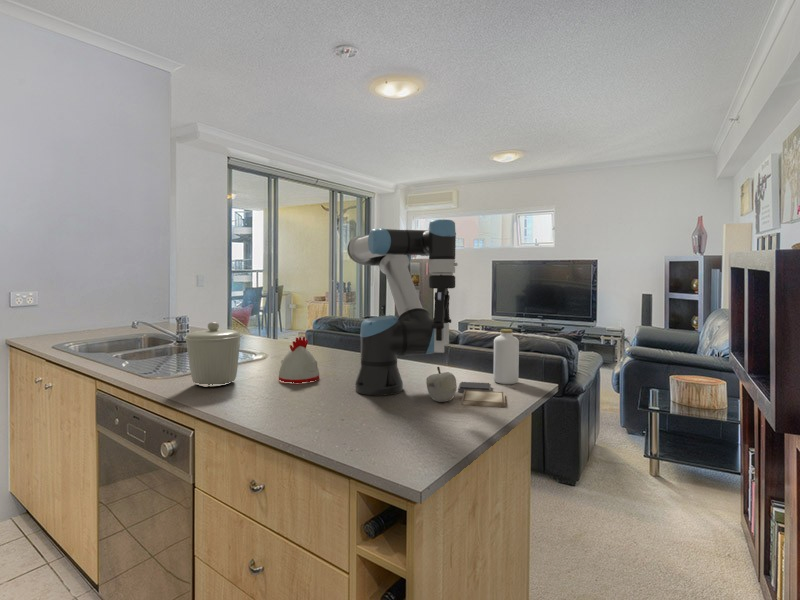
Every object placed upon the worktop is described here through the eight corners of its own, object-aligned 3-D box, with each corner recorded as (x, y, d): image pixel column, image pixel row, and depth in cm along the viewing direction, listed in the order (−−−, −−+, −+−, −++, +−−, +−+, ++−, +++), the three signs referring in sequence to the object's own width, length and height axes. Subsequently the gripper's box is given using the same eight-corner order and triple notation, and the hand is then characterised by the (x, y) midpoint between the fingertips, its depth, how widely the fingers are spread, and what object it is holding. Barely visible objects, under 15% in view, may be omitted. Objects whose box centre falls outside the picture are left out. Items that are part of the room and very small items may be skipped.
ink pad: (458, 392, 140) (458, 387, 140) (459, 385, 148) (459, 381, 148) (490, 393, 138) (490, 389, 138) (490, 387, 146) (490, 382, 146)
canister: (249, 386, 148) (248, 322, 147) (190, 394, 138) (188, 326, 137) (235, 375, 163) (234, 318, 162) (181, 382, 153) (179, 321, 152)
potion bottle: (519, 385, 148) (519, 331, 147) (493, 384, 150) (494, 331, 149) (517, 379, 156) (518, 328, 155) (493, 378, 158) (493, 328, 157)
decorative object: (452, 407, 125) (452, 371, 124) (422, 404, 128) (422, 369, 127) (459, 398, 133) (459, 365, 132) (431, 396, 136) (431, 363, 136)
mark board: (461, 404, 127) (461, 400, 127) (464, 393, 139) (464, 389, 139) (505, 406, 125) (505, 403, 125) (504, 395, 137) (504, 391, 137)
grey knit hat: (327, 378, 160) (326, 336, 159) (299, 386, 148) (298, 341, 147) (299, 373, 167) (298, 333, 166) (270, 381, 156) (269, 338, 155)
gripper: (451, 274, 115) (451, 356, 116) (458, 274, 140) (458, 342, 141) (422, 274, 117) (422, 355, 118) (434, 274, 141) (434, 341, 142)
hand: (441, 348), depth 129 cm, fingers open, 13 cm apart
